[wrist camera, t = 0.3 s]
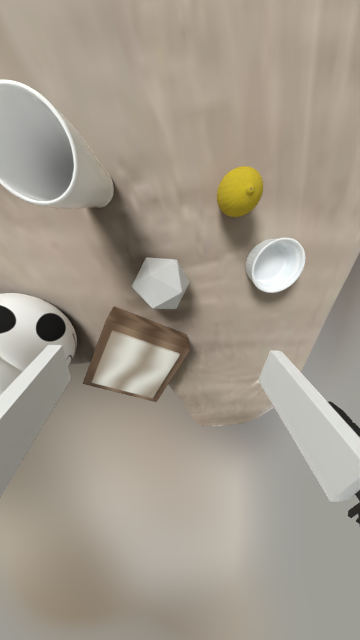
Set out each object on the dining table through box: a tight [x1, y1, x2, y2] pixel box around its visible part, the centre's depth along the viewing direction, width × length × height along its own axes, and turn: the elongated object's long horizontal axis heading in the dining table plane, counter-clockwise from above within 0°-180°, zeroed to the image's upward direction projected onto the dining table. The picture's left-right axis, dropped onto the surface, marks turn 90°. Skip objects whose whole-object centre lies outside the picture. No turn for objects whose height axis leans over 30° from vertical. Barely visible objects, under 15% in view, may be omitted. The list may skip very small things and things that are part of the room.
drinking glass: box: [0, 80, 114, 209], centre depth 19 cm, size 7×7×15 cm
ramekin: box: [246, 238, 305, 293], centre depth 31 cm, size 9×9×4 cm
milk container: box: [0, 293, 77, 395], centre depth 28 cm, size 17×17×18 cm
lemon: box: [217, 166, 263, 217], centre depth 24 cm, size 6×6×8 cm
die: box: [132, 257, 189, 309], centre depth 30 cm, size 8×9×10 cm
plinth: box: [83, 307, 190, 402], centre depth 38 cm, size 16×16×6 cm
